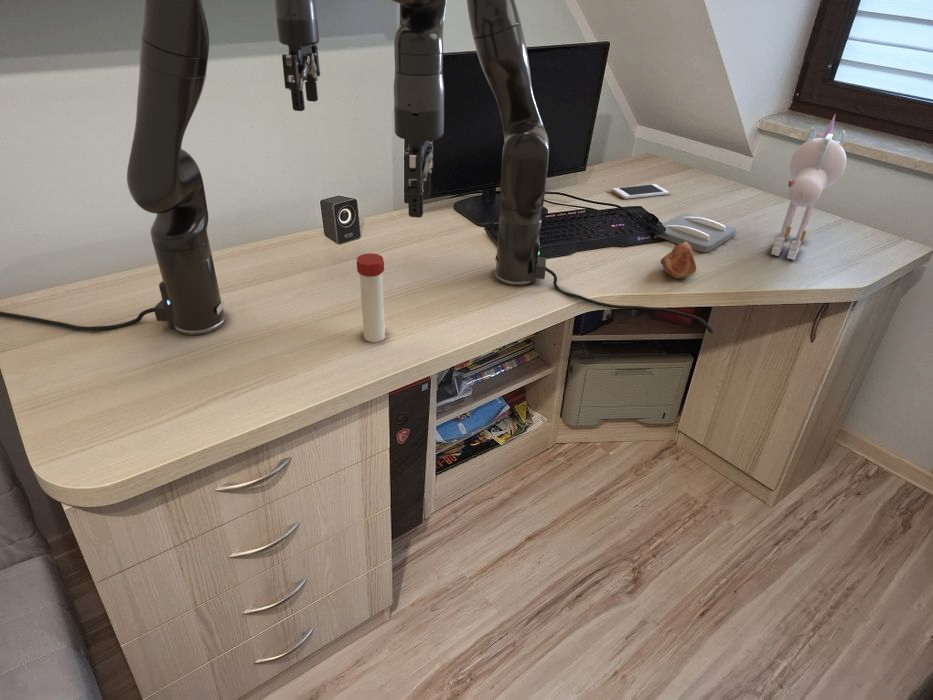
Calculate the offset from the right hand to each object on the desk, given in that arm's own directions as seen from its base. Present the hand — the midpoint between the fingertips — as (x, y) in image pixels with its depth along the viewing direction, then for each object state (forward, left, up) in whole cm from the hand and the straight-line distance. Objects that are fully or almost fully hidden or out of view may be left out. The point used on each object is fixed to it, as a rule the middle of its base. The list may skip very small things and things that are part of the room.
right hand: (306, 105), depth 129 cm
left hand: (-29, +32, -7) cm, 43 cm away
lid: (-19, +30, -19) cm, 40 cm away
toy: (-116, -34, -35) cm, 126 cm away
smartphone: (-80, -62, -35) cm, 107 cm away
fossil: (-82, -8, -35) cm, 89 cm away
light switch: (-91, -32, -35) cm, 102 cm away
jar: (-19, +30, -35) cm, 50 cm away
